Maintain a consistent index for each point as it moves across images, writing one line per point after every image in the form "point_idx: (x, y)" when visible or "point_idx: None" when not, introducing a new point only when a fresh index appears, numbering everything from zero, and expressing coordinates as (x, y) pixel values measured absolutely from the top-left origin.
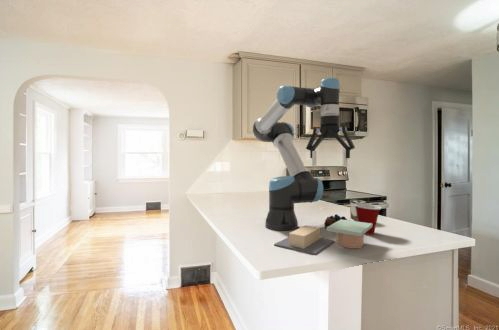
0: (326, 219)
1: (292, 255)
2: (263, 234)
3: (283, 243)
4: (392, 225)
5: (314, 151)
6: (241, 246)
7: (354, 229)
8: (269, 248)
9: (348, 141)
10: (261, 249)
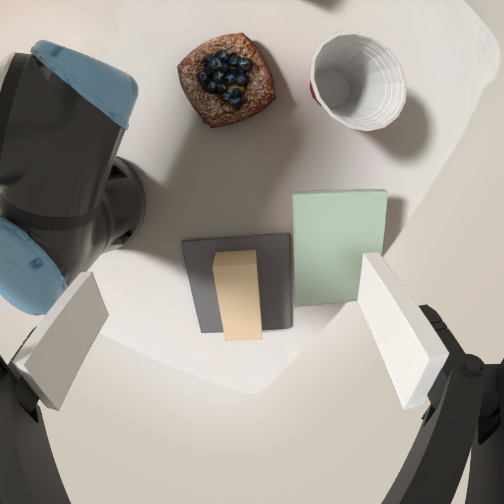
0: (189, 91)
1: (259, 347)
2: (129, 288)
3: (212, 322)
4: None
5: (52, 397)
6: (166, 359)
7: (358, 282)
8: (206, 344)
9: (481, 473)
10: (200, 353)
